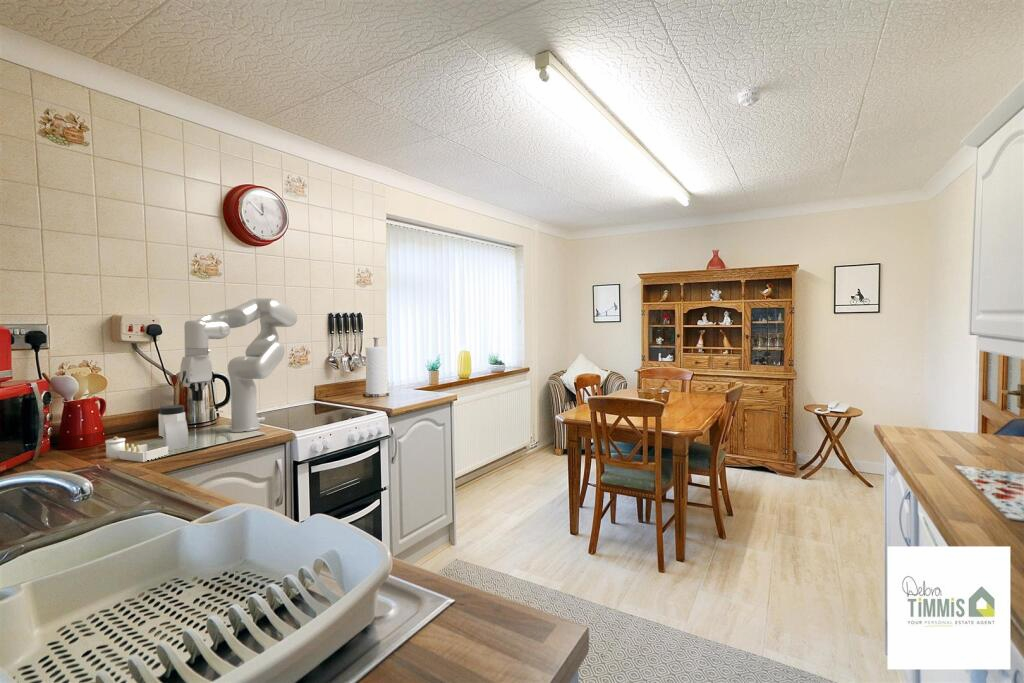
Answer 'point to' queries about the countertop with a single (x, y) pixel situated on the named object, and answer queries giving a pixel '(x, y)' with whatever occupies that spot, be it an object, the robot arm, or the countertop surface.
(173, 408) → the jar
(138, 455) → the header block
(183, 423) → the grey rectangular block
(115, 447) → the sugar pot
